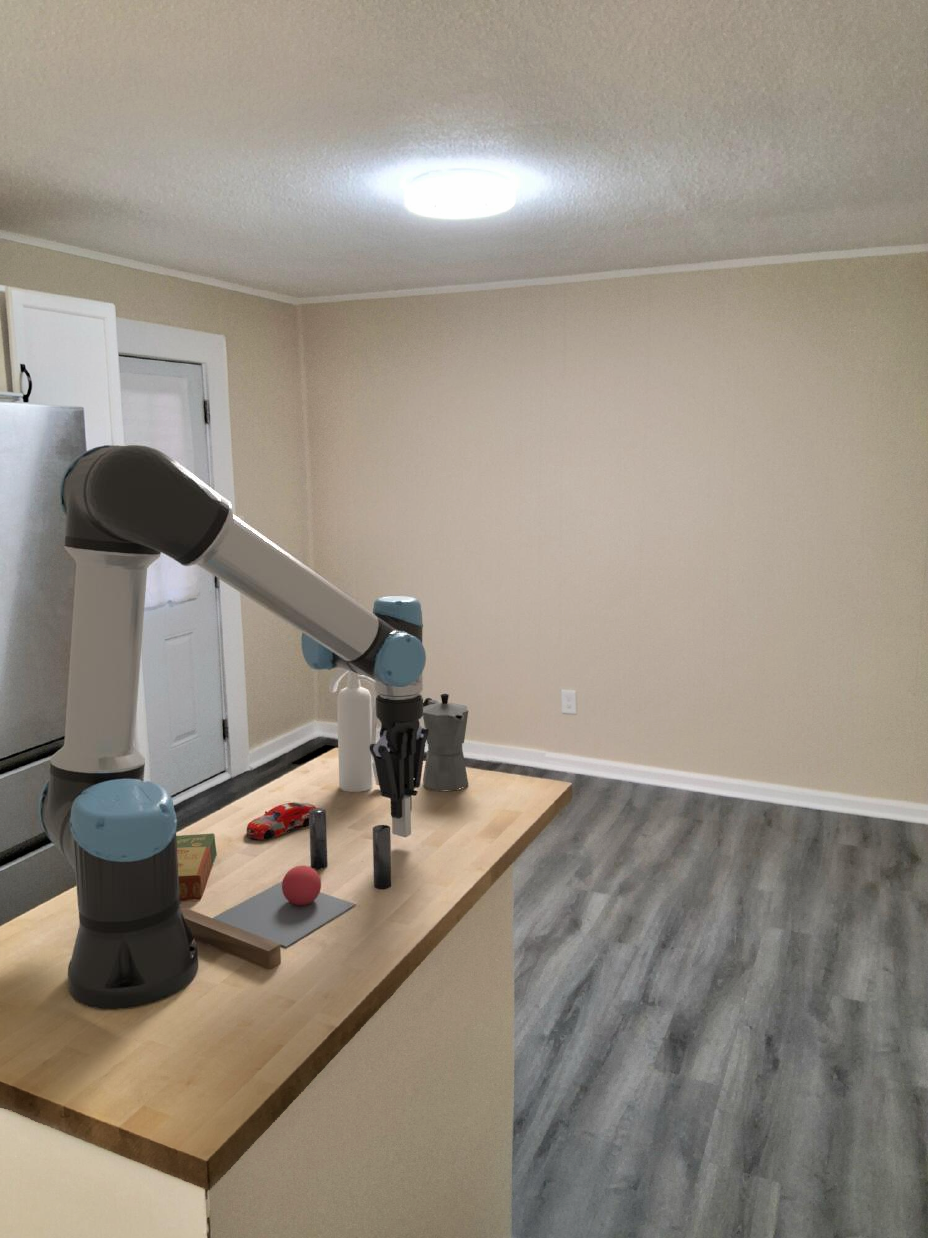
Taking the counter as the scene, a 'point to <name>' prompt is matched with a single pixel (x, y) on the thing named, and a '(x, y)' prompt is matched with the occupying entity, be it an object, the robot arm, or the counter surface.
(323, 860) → the far post
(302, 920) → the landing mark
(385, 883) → the near post
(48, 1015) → the counter surface
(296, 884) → the ball
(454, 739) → the coffeepot
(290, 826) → the race car
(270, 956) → the stopper wall
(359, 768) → the fire extinguisher
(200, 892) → the carton
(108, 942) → the robot arm
